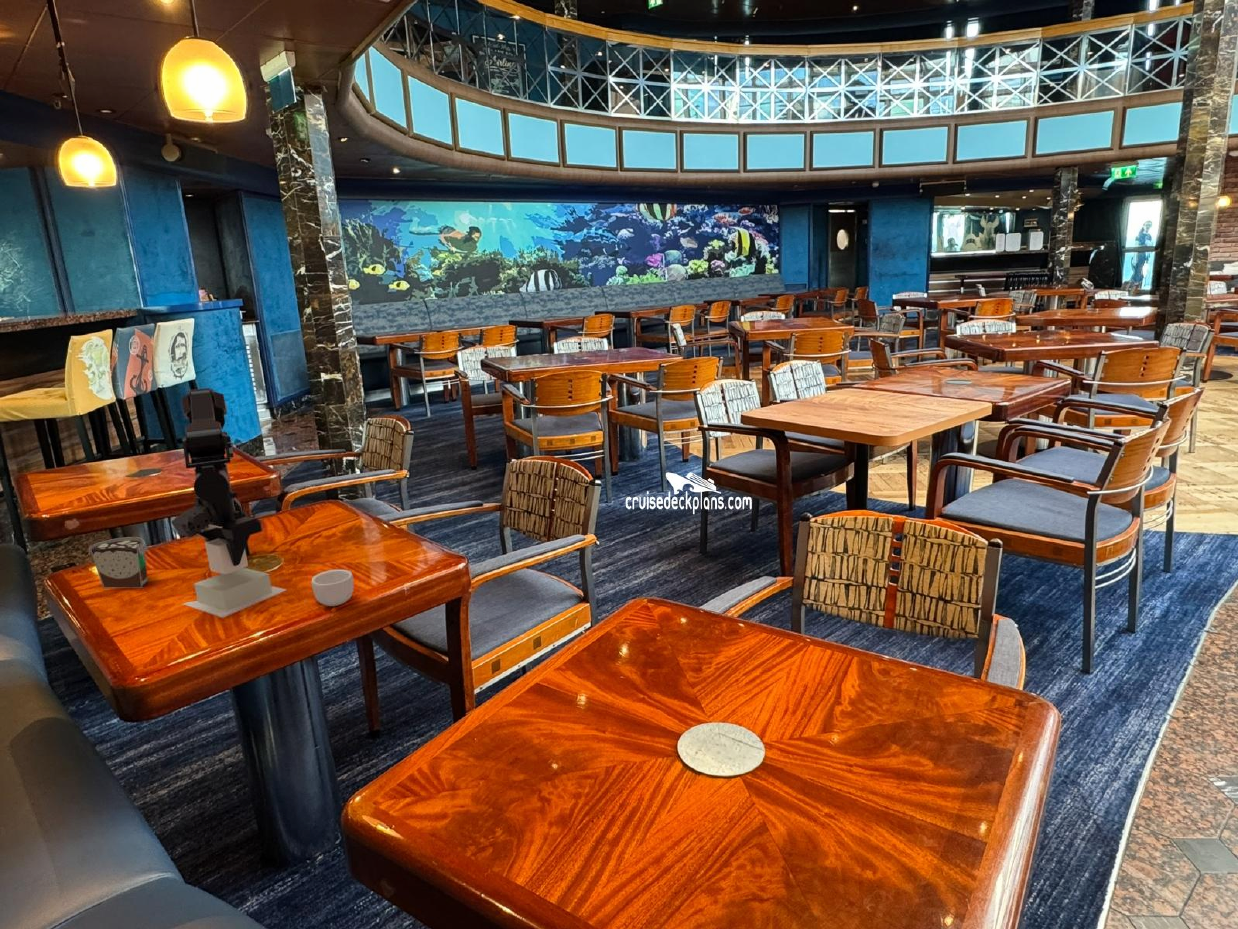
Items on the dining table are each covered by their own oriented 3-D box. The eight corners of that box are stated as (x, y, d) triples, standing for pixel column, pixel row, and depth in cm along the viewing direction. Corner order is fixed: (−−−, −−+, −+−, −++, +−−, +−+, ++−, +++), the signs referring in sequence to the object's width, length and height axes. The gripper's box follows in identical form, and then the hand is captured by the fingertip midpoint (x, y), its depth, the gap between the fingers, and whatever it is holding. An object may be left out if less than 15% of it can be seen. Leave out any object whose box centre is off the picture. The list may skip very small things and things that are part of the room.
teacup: (363, 598, 150) (360, 574, 148) (329, 613, 144) (325, 588, 143) (335, 588, 156) (331, 564, 154) (301, 601, 150) (297, 577, 148)
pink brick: (233, 562, 154) (228, 535, 152) (248, 565, 151) (242, 538, 150) (210, 570, 150) (205, 542, 148) (224, 574, 147) (219, 546, 146)
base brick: (243, 584, 159) (240, 566, 158) (272, 591, 153) (268, 573, 153) (197, 601, 150) (194, 583, 149) (226, 610, 145) (222, 591, 144)
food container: (167, 577, 168) (158, 535, 165) (148, 588, 162) (139, 545, 160) (118, 577, 169) (108, 536, 167) (97, 588, 163) (86, 546, 161)
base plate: (247, 583, 161) (246, 579, 161) (287, 594, 154) (286, 589, 154) (183, 608, 150) (182, 604, 150) (223, 621, 143) (222, 616, 143)
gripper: (147, 496, 145) (163, 570, 148) (201, 506, 135) (217, 585, 139) (203, 481, 154) (217, 552, 158) (257, 490, 144) (270, 565, 148)
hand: (228, 563), depth 150 cm, fingers closed on pink brick, 5 cm apart
